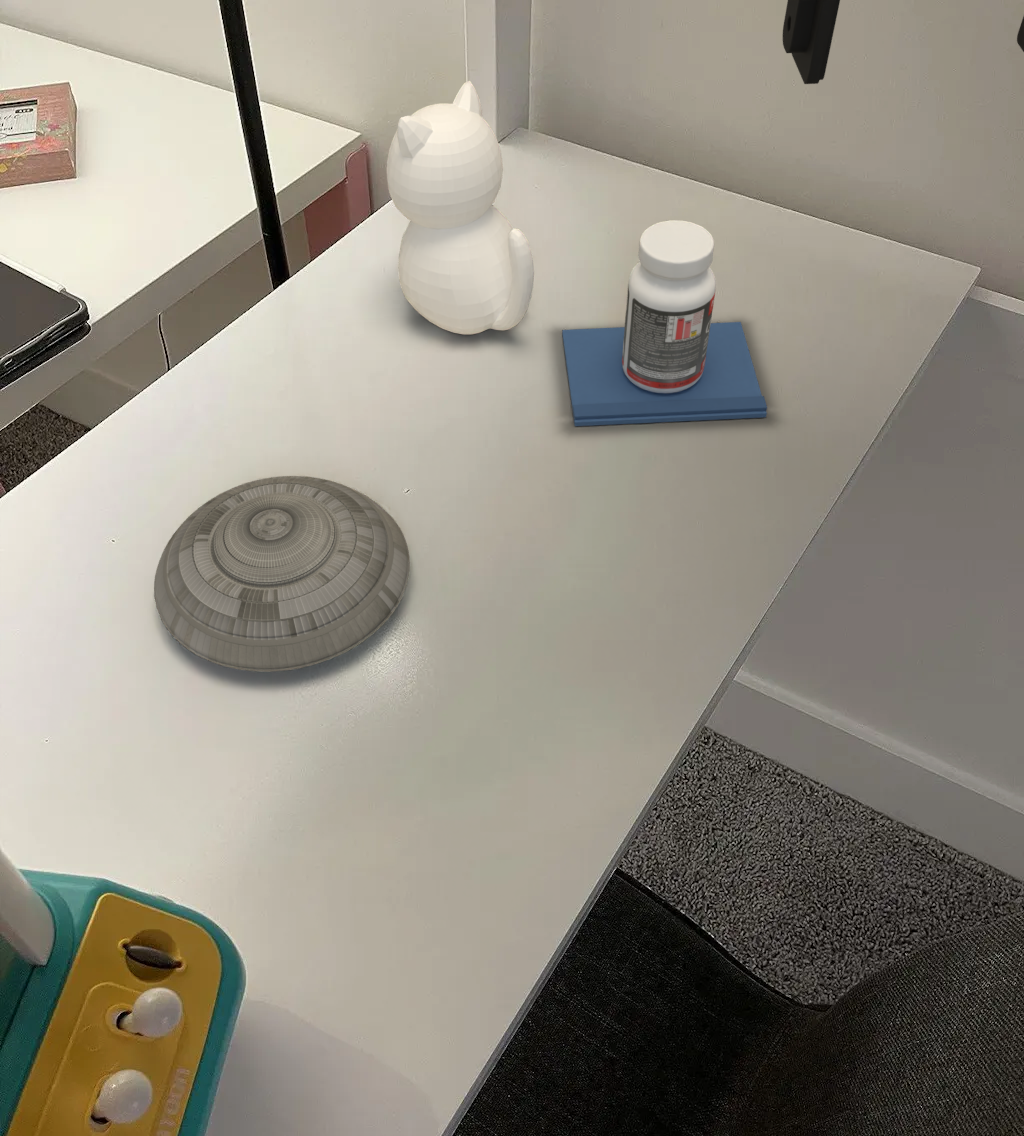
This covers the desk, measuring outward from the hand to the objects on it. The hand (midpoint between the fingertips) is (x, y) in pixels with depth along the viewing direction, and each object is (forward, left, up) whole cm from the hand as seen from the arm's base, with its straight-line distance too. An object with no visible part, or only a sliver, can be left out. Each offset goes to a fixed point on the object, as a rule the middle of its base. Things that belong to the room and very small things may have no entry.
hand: (920, 63), depth 47 cm
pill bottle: (+6, -16, -28) cm, 33 cm away
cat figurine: (+19, -24, -28) cm, 42 cm away
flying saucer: (+31, +2, -28) cm, 42 cm away
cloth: (+6, -16, -28) cm, 33 cm away
